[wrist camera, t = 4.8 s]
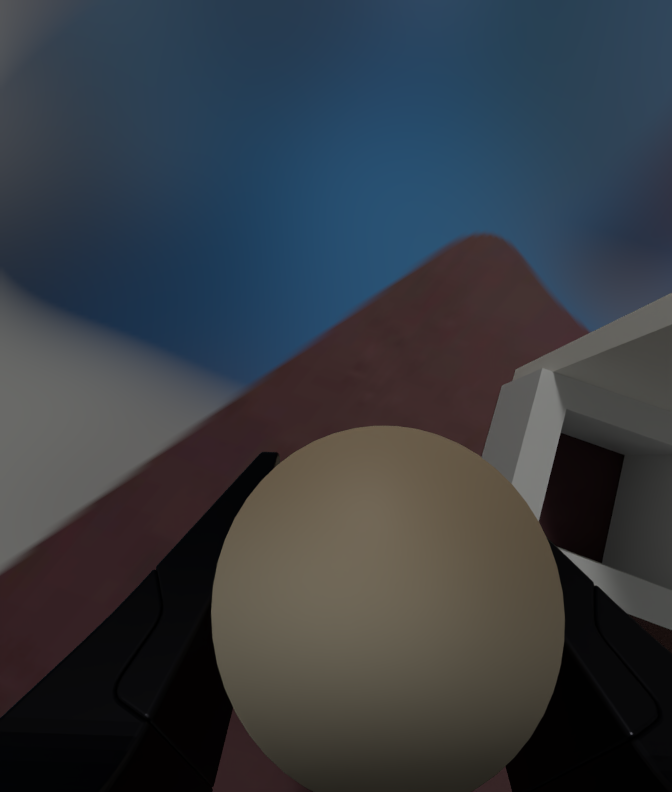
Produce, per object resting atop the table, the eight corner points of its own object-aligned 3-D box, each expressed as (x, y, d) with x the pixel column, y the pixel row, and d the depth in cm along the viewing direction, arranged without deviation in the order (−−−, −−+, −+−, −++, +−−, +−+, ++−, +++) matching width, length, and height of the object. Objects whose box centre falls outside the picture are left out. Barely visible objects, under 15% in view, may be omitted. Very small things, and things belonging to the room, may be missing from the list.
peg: (386, 556, 14) (545, 855, 4) (292, 535, 15) (166, 761, 4) (403, 459, 15) (579, 462, 4) (313, 440, 15) (260, 396, 4)
